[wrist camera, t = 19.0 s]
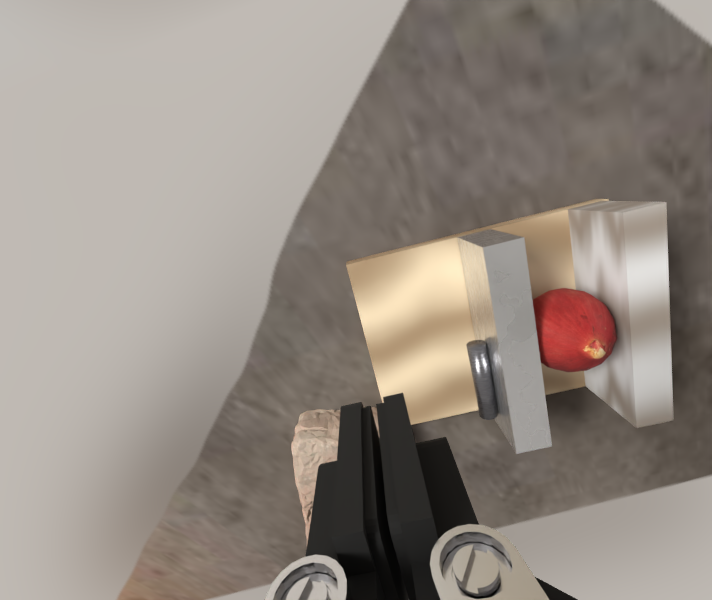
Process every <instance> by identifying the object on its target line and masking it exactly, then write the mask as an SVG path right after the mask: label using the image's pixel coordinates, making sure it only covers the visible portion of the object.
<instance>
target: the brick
mask: <svg viewBox="0 0 712 600" xmlns="http://www.w3.org/2000/svg"><path fill="white" fill-rule="evenodd" d="M371 409H372V412H373V416H374V420H375V423H376V427H377V431H378V434H379V427H378V417H377V408H376V407H372V408H371ZM339 424H340V410H337V411H335V410H319V409H318V410H313V411H306V412H304V413H302V414H301V415H300V417H299V422H298V424H297V426H296V427H295V435H294V440H293V442H292V455H293V466H294V472H295V481H296V485H297V489H298V491H299V496H300V502H301V504H302V507H303V509H302V512H303V516H304V519H305V524H306V537H307V543H308V536H309V529H310V522H311V515H312V508H313V501H314V493H315V486H316V479H317V472H318V467H319V465H320V464H323V463H328V462H332V461H337V451H338V437H339ZM379 438H380V437H379Z"/></svg>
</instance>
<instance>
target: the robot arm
mask: <svg viewBox="0 0 712 600" xmlns="http://www.w3.org/2000/svg"><path fill="white" fill-rule="evenodd" d="M383 401H384V403H380V404H376V406H377V417H378V427H379V434H378V431H377V427H376V423H375V420H374V416H373V412H372V409H371V406H367V407H363V404H362V402H359V403H355V404H350V405H346V406H342V407H341V410H340V424H339V437H338V451H337V461H332V462H328V463H323V464H320V465H319V467H318V472H317V479H316V486H315V493H314V501H313V508H312V515H311V522H310V529H309V536H308V543H307V550H306V557H303V558H301V559H299V560H297V561H295V562H293V563H291V564H290V565H289V566H288V567H287V568H285V569H284V570H283V571H282V572H281V573H280V574H279V575H278V576H277V578H276V579H275V580H274V581H273V583H272V584H271V586H270V589H269V591H268V593H267V595H266V597H265V599H264V600H577V599H575V598H573V597H572V596H570V595H568V594H566V593H564V592H562V591H560V590H558V589H557V588H555V587H553V586H551V585H549V584H547V583H545V582H543V581H542V580H540V579H538V578H536V577H534V575H533V574H532V572H531V570H530V569H529V567H528V566H527V564H526V563H525V561H524V560H523V558H522V557H521V555H520V553H519V552H518V550H517V549H516V547H515V546H514V545H513V544H512V543H511V542H510V540H509V539H508V538H507V537H506V536H504V535H503V534H501V533H500V532H498V531H497V530H495V529H492V528H489V527H487V526H484V525H479V524H478V521H477V518H476V516H475V513H474V510H473V508H472V505H471V502H470V500H469V497H468V494H467V492H466V489H465V486H464V484H463V481H462V478H461V476H460V473H459V470H458V468H457V465H456V462H455V460H454V457H453V454H452V452H451V449H450V446H449V444H448V441H447V439H446V437H443V438H439V439H434V440H430V441H425V442H420V443H415V439H414V435H413V431H412V427H411V423H410V419H409V415H408V411H407V407H406V403H405V398H404V394H403V393H399V394H394V395H390V396H386V397H383ZM379 437H380V438H379Z"/></svg>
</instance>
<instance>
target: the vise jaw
mask: <svg viewBox="0 0 712 600" xmlns="http://www.w3.org/2000/svg"><path fill="white" fill-rule="evenodd" d="M457 239H458V245H459V250H460V256H461V261H462V267H463V272H464V278H465V283H466V289H467V295H468V300H469V306H470V311H471V317H472V322H473V328H474V333H475V339H476V340H473V341H470V342H468V343H467V344H466V346H467V351H468V356H469V362H470V367H471V372H472V378H473V383H474V388H475V394H476V399H477V404H478V410H479V415H480V417H481V418H483V419H486V420H491V419H495V420H496V422H497V424H498V425H499V427H500V428H501V430H502V432H503V433H504V435H505V436H506V438H507V439H508V441H509V443H510V444H511V446H512V447H513V449H514V451H515V452H516V454H518V453H522V452H527V451H532V450H537V449H541V448H546V447H551V446H552V443H551V435H550V428H549V420H548V413H547V405H546V398H545V390H544V383H543V375H542V368H541V360H540V353H539V345H538V338H537V330H536V323H535V315H534V308H533V300H532V293H531V285H530V278H529V270H528V263H527V255H526V248H525V240H524V237H521V236H517V235H513V234H508V233H504V232H500V231H496V230H492V229H488V230H484V231H480V232H476V233H472V234H468V235H464V236H460V237H457Z"/></svg>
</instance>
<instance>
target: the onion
mask: <svg viewBox="0 0 712 600" xmlns="http://www.w3.org/2000/svg"><path fill="white" fill-rule="evenodd" d="M533 308H534V315H535V323H536V330H537V338H538V345H539V353H540V360H541V363H542V364H544V365H545V366H547V367H549V368H552V369H555V370H560V371H564V372H578V371H587V370H589V369H591V368H594V367H596V366H598V365H600V364H602V363H603V362H604V361H605V360H606V359H607V358H608V357H609V356H610V355H611V354H612V351H613V348H614V346H615V343H616V340H617V335H616V330H615V322H614V319H613V317H612V315H611V313H610V312H609V310H608V308H607V307H606V305H605V304H604V303H603V302H601V301H600V300H598V299H597V298H595V297H594V296H592V295H591V294H589V293H587V292H585V291H579V290H574V289H568V288H560V289H555V290H549V291H547V292H545V293H544V294H542V295H540V296H538V297H536V298H535V299H533Z"/></svg>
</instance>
